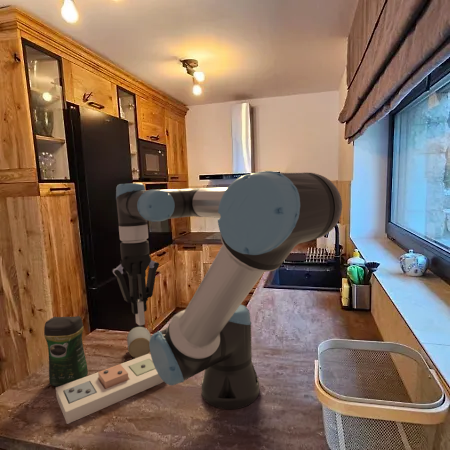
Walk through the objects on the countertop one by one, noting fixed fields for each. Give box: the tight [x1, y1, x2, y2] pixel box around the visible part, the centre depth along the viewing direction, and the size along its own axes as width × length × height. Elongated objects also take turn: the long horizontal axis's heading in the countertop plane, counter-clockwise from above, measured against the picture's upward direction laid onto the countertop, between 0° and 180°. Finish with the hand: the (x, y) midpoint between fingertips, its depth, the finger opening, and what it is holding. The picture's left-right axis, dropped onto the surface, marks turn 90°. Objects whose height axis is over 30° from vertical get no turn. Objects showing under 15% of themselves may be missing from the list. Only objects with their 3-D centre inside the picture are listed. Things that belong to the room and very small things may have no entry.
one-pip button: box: [129, 359, 155, 376], centre depth 91 cm, size 6×6×3 cm
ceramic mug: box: [126, 326, 152, 359], centre depth 105 cm, size 11×8×8 cm
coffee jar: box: [43, 315, 89, 387], centre depth 91 cm, size 10×8×19 cm
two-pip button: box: [98, 363, 128, 389], centre depth 86 cm, size 6×6×3 cm
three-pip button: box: [64, 381, 96, 404], centre depth 81 cm, size 6×6×3 cm
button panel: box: [55, 353, 165, 425], centre depth 86 cm, size 12×26×3 cm, turn 128°
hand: (140, 323), depth 90 cm, fingers closed
